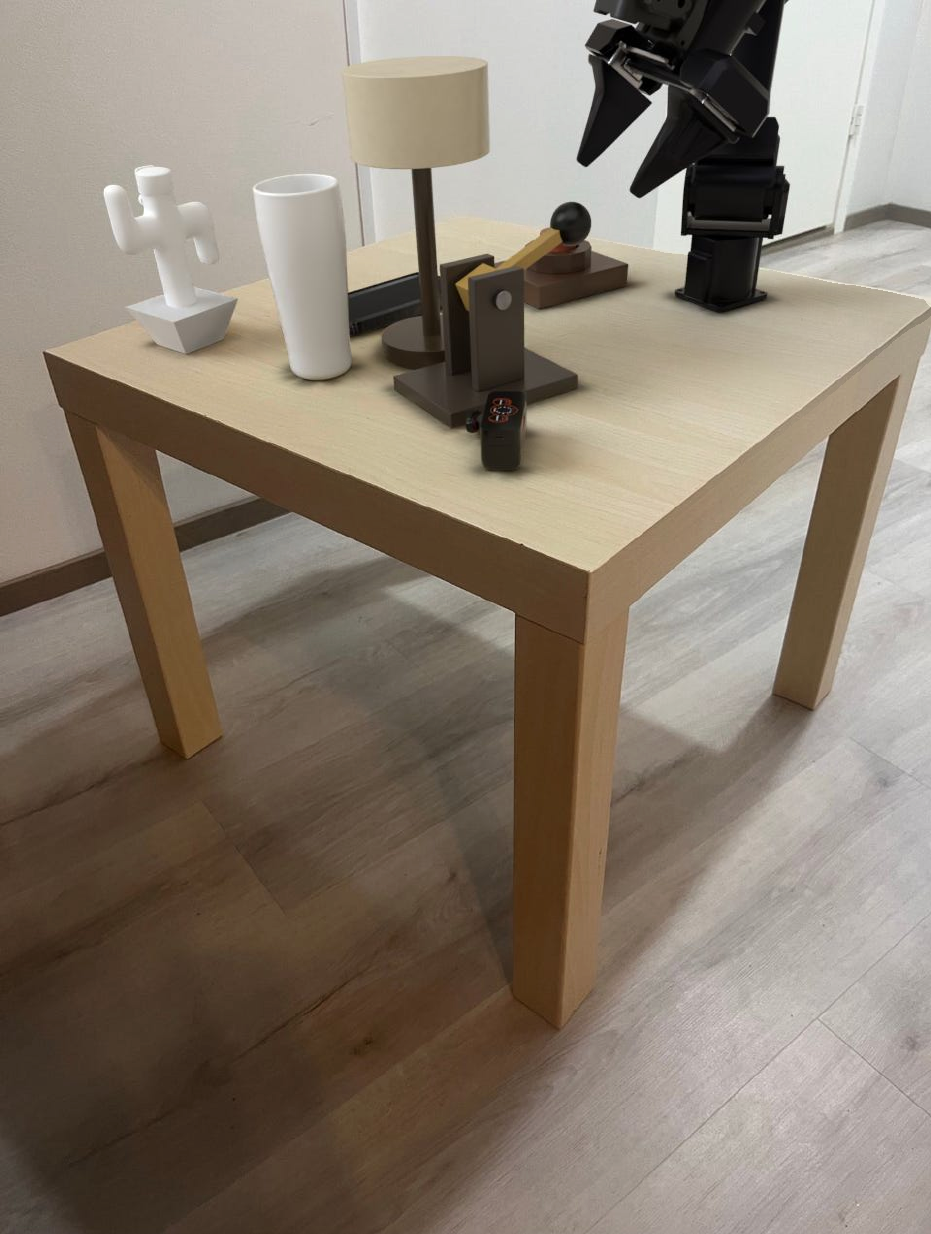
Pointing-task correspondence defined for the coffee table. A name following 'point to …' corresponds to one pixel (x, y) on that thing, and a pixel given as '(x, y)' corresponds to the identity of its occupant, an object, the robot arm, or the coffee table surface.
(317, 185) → the drinking glass
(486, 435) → the wireless earbuds
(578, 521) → the coffee table surface
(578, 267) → the switch box
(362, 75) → the lamp
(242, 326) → the coffee table surface
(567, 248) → the button
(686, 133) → the robot arm
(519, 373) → the lamp switch
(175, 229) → the figurine
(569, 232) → the lever
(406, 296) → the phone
